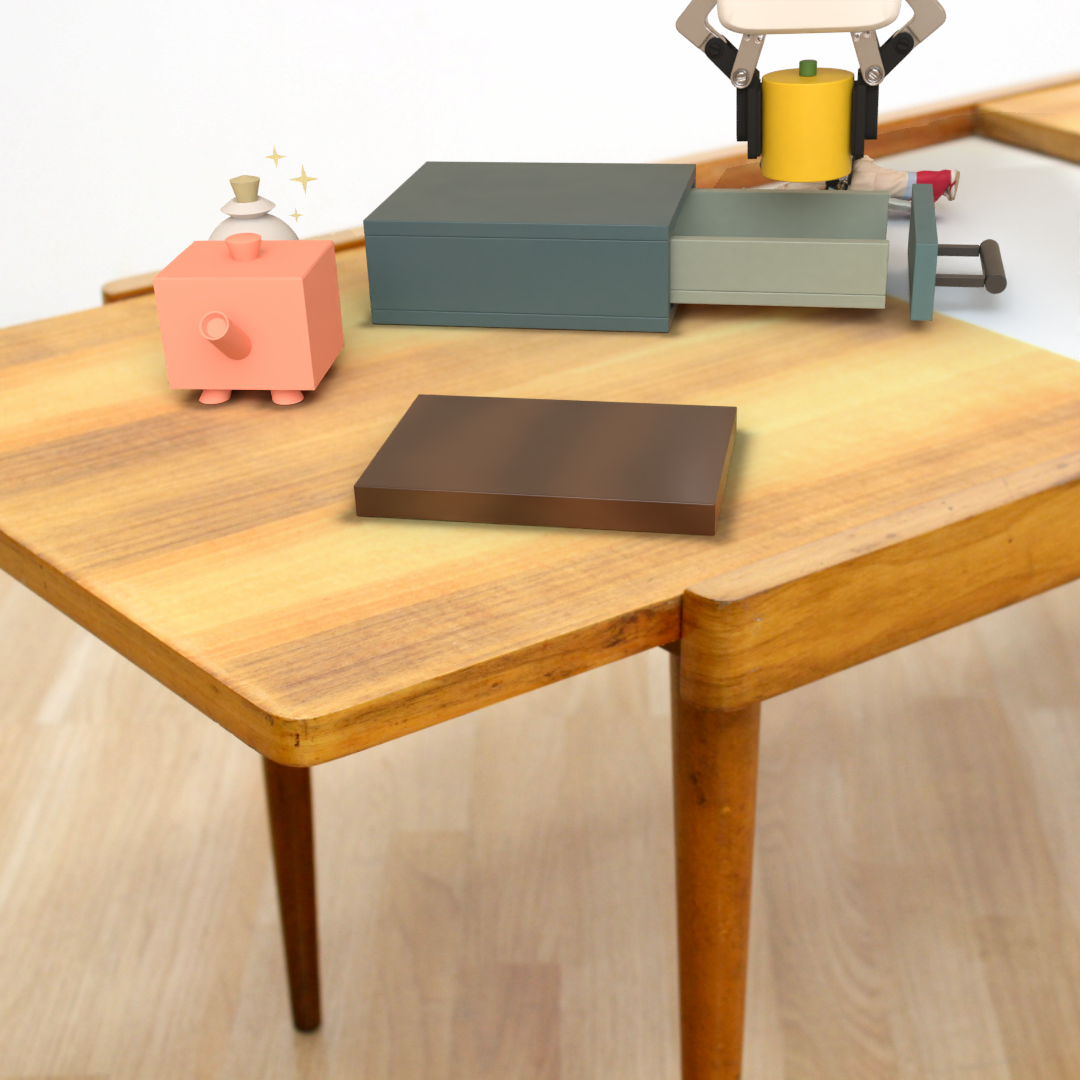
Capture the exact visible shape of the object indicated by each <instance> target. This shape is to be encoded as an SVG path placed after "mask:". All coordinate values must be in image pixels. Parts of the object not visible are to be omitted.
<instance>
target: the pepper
mask: <svg viewBox="0 0 1080 1080" xmlns="http://www.w3.org/2000/svg"><path fill="white" fill-rule="evenodd" d="M855 77H856V76H855V73H853V72H852V71H849V70H847V69H842V68H836V67H835V68H834V67H818V61H817V59H802V60H799V62H798V67H795V68H785V69H778V70H774V71H770V72H767V73H765V74H764V75H762V77H761V82H762V117H761V156H760V160H761V168H760V173H761V175H762V176H763V177H764V178H767V179H769V180H772V181H776V182H783V183H784V182H785V183H790V182H795V183H810V182H823V181H830V180H835V179H839V178H842V177H845V176H847V175H849V174H850V173H851V170H852V156H851V146H852V115H853V87H854V80H855Z"/></svg>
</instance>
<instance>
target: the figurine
mask: <svg viewBox="0 0 1080 1080" xmlns="http://www.w3.org/2000/svg"><path fill="white" fill-rule="evenodd" d="M874 162H875V160H874V159H873V158H871V157H870V156H869V155H868V154H864V158H855V156H852V170H851V173H850V174H849V175H847V176H845V177H842V178H839V179H835V180H830V181H823V182H810V183H795V182H786V183H785V184H782V185H780V186H777V187H775V188H774V189H794V190H873V191H889V203H888V210H892V211H900V212H904V213H910V211H911V197H912V184H932V187H933V197H934V204H935V203H936V202H937V201H939V199H940V198H941V197H942V196H943V197H946V198H947V200H948V201H949V202H952V201H955V200H956V196H957V191H958V187H959V183H960V178H961V172H960V170H957V169H941V170H927V169H926V170H919V171H912V170H911V171H910V170H908V171H907V170H901V171H897V170H894V169H891V168H884V167H881V166H879V165H877V164H875V163H874ZM759 168H760V169H761V159H760V161H759ZM742 189H748V188H747V187H745V186H743V187H742Z"/></svg>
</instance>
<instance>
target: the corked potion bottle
mask: <svg viewBox="0 0 1080 1080" xmlns="http://www.w3.org/2000/svg"><path fill="white" fill-rule="evenodd" d="M264 158H266V159H270V160H273V163H274V164H275V168H276V169H278V160H280V159H283V158H287V156H285V155H280V154H278V152H277V150H276V146H273V152H272V155H269V156H264ZM316 180H318V178H317V177H310V176H307V174H306V171H305V168H304V165H303V164H301V173H300V176H299V177H294V178H290V179H289V181H294V182H299V183H301V184H302V188H303V191H304V194H305V195H306V193H307V183H309V182H312V181H316ZM260 181H261V178H260V177H259V176H255V175H247V174H243V175H239V176H236V177H233V178H230V179H229V181H228V182H229V184H230V186H231V188H232V189H231V190H232V191H233V194H234V196H235V197H233V198H231V199H230V200H229V201H228V202H227V203H225V204H224V205H223V206H221V207H220V212H221V213H222V214H225V215H228V216H229V217H227V218H225V219H224V220H222V221H221V222H220V223H219V224H217V226H216V227H215V228H214V230H213V231H212V232H211V234H210V236H209V237H208V240H207V241H225V239H226V238H227V237H229V236H231V235H234V234H238V233H255V234H258V235H261V240H300V238H299V237H298V234H297V233H296V232H295V231H294V229H293V228H292V227H291V226H290V225H289V224H288V223H286V222H285V221H284V220H282V219H281V218H279V217H277V216H275V215H273V214H270V213H269V212H270V211H272V210H274V209H275V208H276V206H277V205H276V203H275V202H274V201H271V200H269V199H267V198H265V197H263V196H261V195H258V194H259V187H260V183H261V182H260ZM288 216H289V217H294V219H295V221H296V223H298V217H302V216H304V214H300V213H298V211H297V209H296V208H294V214H293V213H292V214H290V215H288Z"/></svg>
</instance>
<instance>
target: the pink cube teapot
mask: <svg viewBox="0 0 1080 1080" xmlns="http://www.w3.org/2000/svg"><path fill="white" fill-rule="evenodd" d="M335 250H336V249H335V241H334V240H332V239H331V240H330V239H299V240H261V235H258V234H255V233H238V234H234V235H231V236H229V237H227V238H226V239H225V241H208V240H194V241H193V242H192V243H190V245H189V246H188V247H186V248H185V249H184V250H183V251H182V252H180V254H178V255H177V256H176V257H175V258H174V259H172V261H170V262H169V263H168V264H167V265H166V266H165V267H164V268H163V269H162V270H161V271H160V272H159V273H157V274H156V275H155V276H154V277H153V279H152V285H153V290H154V297H155V305H156V309H157V317H158V322H159V329H160V335H161V342H162V348H163V353H164V354H163V355H164V360H165V366H166V372H167V373H166V374H167V379H168V386H169V390H202V392H201V395H200V396H199V399H198V401H199V402H200V403H202V404H205V405H216V404H221V403H225V402H227V401H228V400H230V399H231V397H232V391H233V390H235V391H236V390H243V391H244V390H246V391H249V390H251V391H253V390H254V391H262V390H263V391H270V395H271V400H272V403H274V404H276V405H280V406H281V405H282V406H289V405H294V404H298V403H300V402H302V401H304V398H305V397H304V394H303V393H302V391H315V390H316V389H317V388H318V386H319V384H320V383H321V382H322V380H323V378H325V375H326V374H327V372H328V371H329V370H330V368H331V366H332V365H333V364H334V362H335V361H336V359H337V358H338V356H339V355H340V353H341V351H342V350H343V349H344V347H345V340H344V339H345V338H344V327H343V319H342V318H343V317H342V310H341V299H340V291H339V290H340V288H339V279H338V269H337V259H336V251H335Z"/></svg>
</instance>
